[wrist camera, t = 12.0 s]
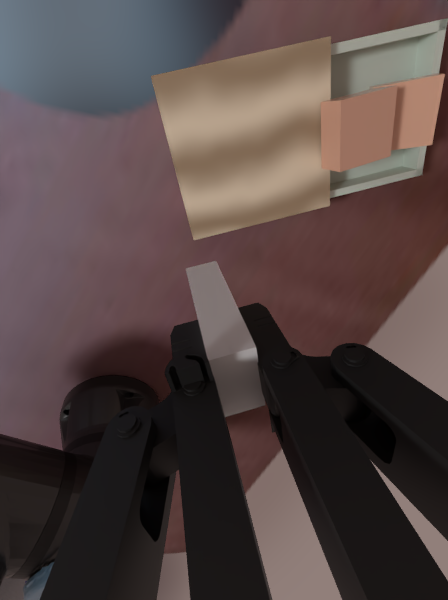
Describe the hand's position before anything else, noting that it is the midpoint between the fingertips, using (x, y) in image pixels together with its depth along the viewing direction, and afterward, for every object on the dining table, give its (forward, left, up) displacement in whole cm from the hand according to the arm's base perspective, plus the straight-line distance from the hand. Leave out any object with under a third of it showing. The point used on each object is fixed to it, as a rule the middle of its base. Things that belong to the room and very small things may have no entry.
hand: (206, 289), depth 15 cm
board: (+3, -8, -23) cm, 25 cm away
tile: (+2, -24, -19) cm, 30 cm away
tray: (+3, -22, -23) cm, 32 cm away
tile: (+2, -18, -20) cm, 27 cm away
